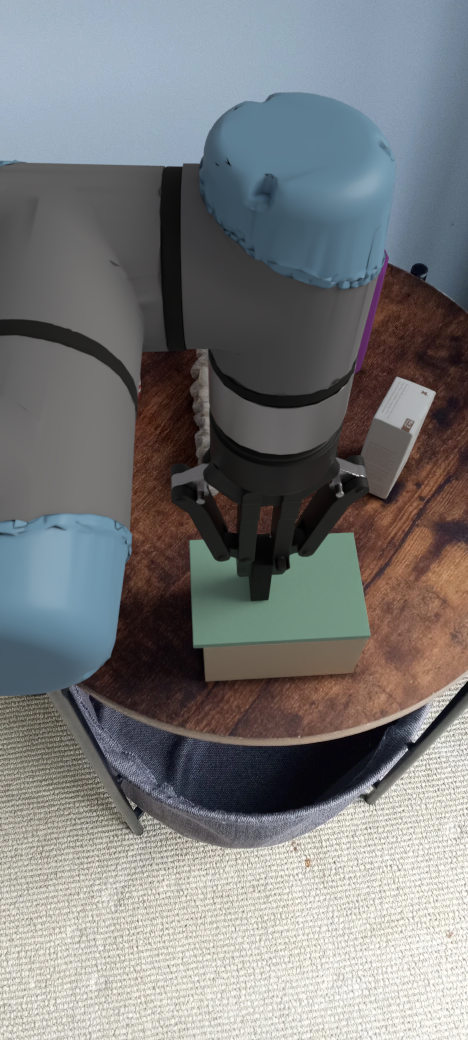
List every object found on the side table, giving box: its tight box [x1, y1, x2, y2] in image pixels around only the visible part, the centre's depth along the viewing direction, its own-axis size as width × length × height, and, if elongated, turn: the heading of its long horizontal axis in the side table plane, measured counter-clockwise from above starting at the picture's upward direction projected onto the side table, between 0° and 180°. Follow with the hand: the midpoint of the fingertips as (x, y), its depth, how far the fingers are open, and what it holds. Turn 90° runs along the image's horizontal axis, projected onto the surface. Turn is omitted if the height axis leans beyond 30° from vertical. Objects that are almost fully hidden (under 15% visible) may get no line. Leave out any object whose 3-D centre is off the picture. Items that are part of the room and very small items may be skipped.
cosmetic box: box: [359, 376, 437, 500], centre depth 73 cm, size 6×4×12 cm
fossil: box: [189, 349, 220, 497], centre depth 78 cm, size 21×6×5 cm, turn 4°
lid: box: [188, 532, 372, 649], centre depth 61 cm, size 14×10×1 cm, turn 94°
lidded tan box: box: [202, 639, 369, 682], centre depth 65 cm, size 14×10×9 cm
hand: (258, 585), depth 60 cm, fingers closed
